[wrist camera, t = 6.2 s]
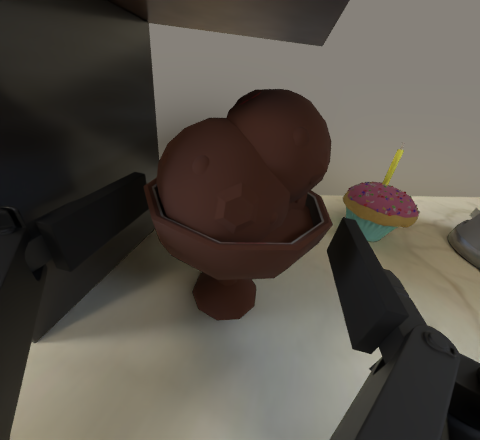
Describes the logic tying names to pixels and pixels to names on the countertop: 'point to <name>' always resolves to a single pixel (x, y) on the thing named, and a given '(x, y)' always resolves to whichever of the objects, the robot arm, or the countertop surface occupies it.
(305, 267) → the countertop surface
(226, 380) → the countertop surface
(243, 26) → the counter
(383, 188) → the cupcake
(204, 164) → the ice cream bowl
